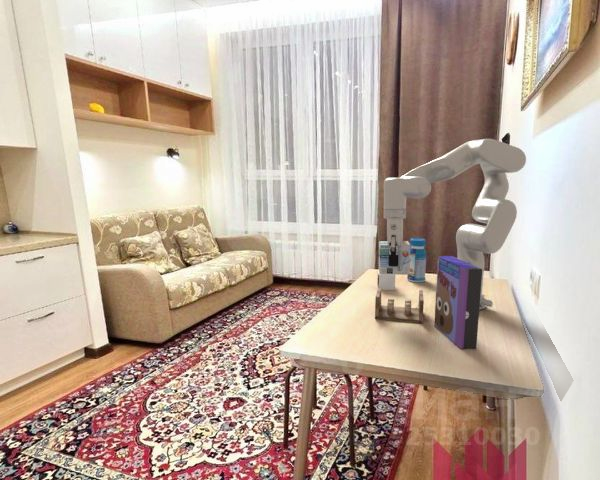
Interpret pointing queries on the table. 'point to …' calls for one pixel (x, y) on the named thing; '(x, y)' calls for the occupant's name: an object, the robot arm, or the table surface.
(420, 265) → the beverage bottle
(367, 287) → the table surface
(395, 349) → the table surface
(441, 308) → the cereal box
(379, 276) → the medicine bottle
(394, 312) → the peg stand
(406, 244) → the light bulb box
